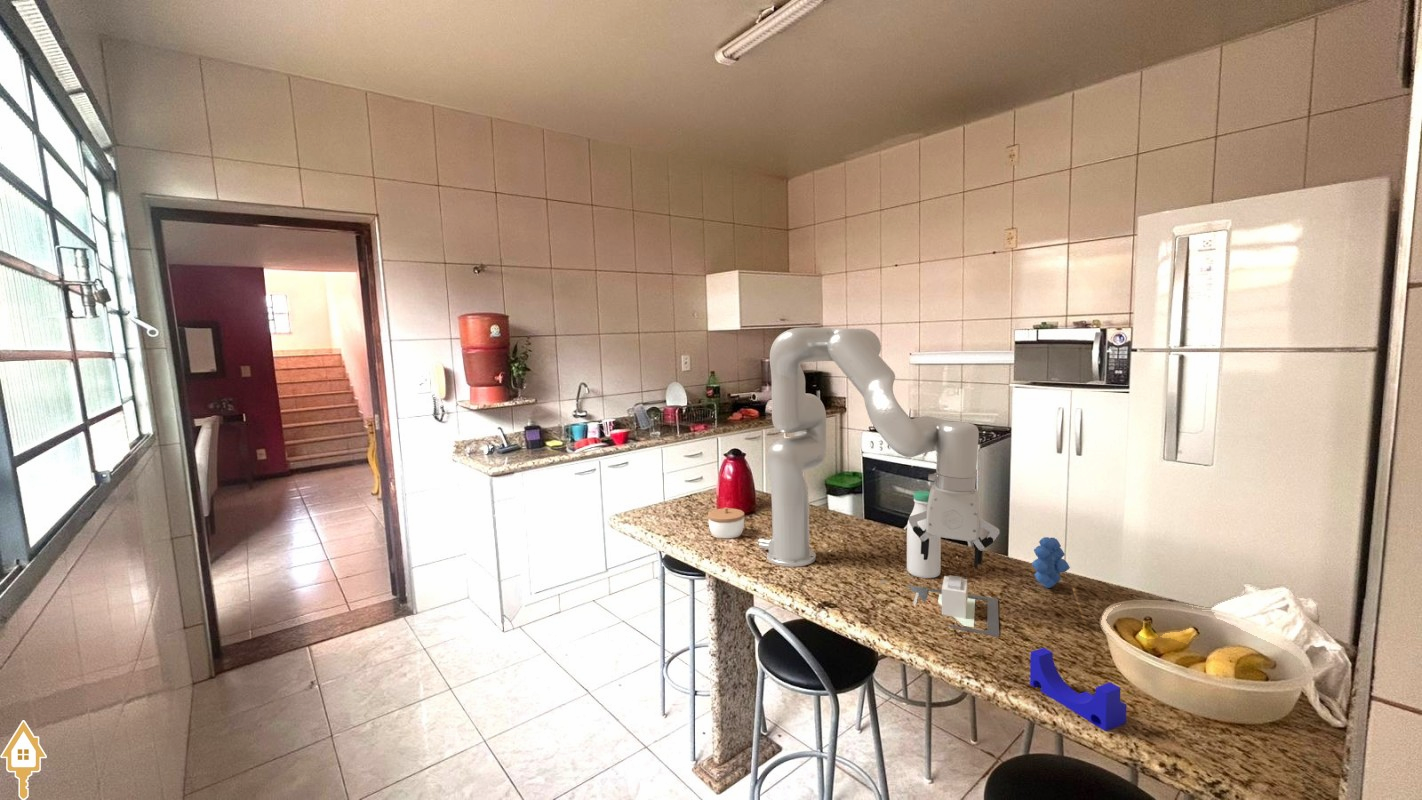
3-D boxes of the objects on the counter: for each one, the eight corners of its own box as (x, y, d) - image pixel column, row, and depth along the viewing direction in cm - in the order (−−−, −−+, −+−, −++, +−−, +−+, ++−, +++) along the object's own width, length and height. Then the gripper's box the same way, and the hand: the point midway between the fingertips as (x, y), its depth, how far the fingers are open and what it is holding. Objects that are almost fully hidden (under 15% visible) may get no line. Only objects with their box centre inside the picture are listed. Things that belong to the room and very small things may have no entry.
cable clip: (1125, 724, 82) (1127, 685, 82) (1105, 732, 81) (1106, 693, 80) (1049, 680, 93) (1050, 645, 93) (1030, 686, 92) (1030, 651, 91)
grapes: (1057, 601, 120) (1058, 547, 119) (1024, 591, 126) (1025, 539, 124) (1080, 586, 127) (1081, 534, 126) (1048, 577, 132) (1049, 527, 131)
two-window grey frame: (831, 607, 121) (831, 605, 121) (849, 577, 136) (849, 575, 136) (999, 637, 107) (999, 634, 107) (997, 599, 122) (997, 597, 122)
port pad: (934, 621, 113) (934, 620, 113) (939, 594, 125) (939, 593, 125) (973, 628, 110) (973, 627, 110) (975, 600, 122) (975, 599, 122)
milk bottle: (943, 580, 133) (944, 497, 131) (909, 578, 134) (909, 496, 132) (937, 567, 140) (937, 488, 138) (904, 565, 142) (904, 488, 140)
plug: (941, 614, 116) (941, 585, 115) (944, 600, 122) (944, 572, 121) (966, 619, 114) (966, 589, 113) (967, 604, 120) (968, 576, 119)
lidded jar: (744, 545, 160) (743, 513, 159) (707, 545, 161) (706, 513, 160) (745, 532, 171) (744, 502, 170) (710, 533, 172) (709, 503, 171)
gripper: (908, 481, 116) (904, 561, 118) (1003, 492, 108) (997, 577, 110) (912, 473, 122) (909, 548, 125) (1002, 483, 115) (996, 562, 117)
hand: (950, 561), depth 118 cm, fingers open, 9 cm apart
